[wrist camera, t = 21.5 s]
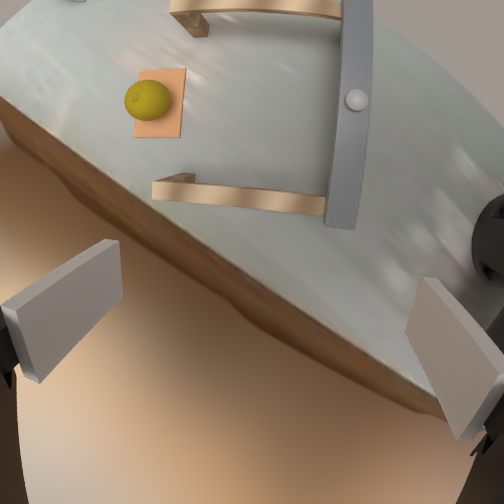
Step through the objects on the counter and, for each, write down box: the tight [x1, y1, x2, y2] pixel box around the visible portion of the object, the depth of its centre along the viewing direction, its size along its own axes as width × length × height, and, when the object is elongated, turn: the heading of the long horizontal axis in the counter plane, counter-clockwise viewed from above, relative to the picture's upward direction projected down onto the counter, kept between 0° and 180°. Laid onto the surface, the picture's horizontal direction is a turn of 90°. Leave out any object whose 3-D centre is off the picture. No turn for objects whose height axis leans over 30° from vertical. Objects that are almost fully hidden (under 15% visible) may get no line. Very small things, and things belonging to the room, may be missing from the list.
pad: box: [134, 68, 186, 138], centre depth 39 cm, size 7×10×1 cm
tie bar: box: [323, 0, 373, 230], centre depth 26 cm, size 3×25×3 cm, turn 175°
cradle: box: [152, 0, 341, 217], centre depth 34 cm, size 22×24×10 cm
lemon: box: [125, 80, 171, 121], centre depth 35 cm, size 6×6×8 cm
